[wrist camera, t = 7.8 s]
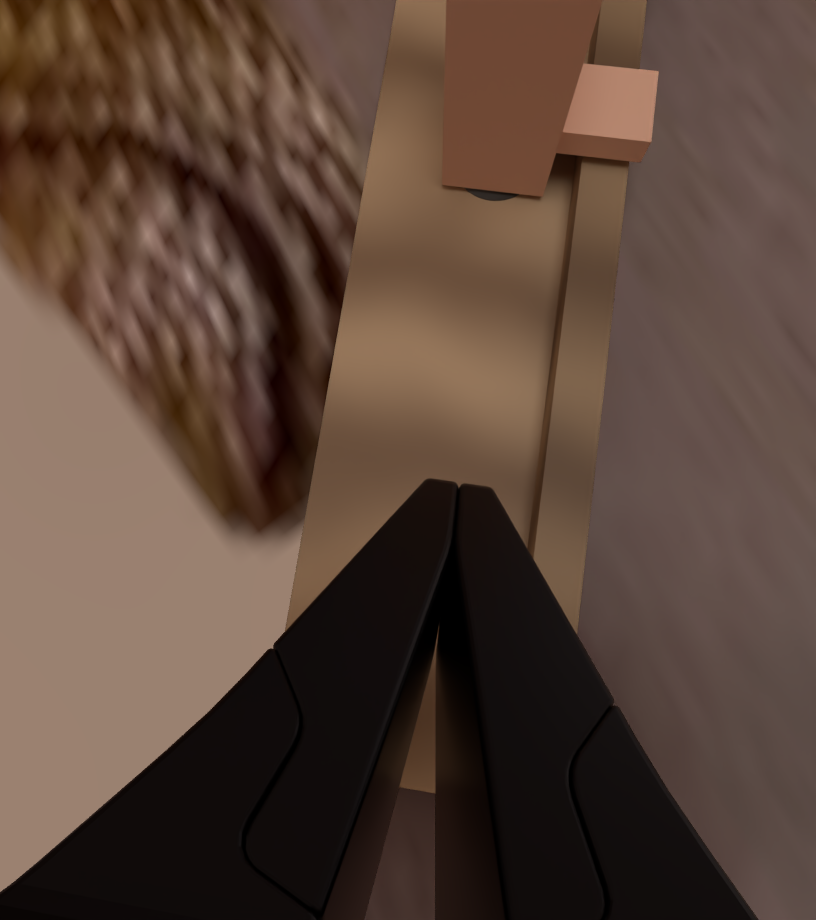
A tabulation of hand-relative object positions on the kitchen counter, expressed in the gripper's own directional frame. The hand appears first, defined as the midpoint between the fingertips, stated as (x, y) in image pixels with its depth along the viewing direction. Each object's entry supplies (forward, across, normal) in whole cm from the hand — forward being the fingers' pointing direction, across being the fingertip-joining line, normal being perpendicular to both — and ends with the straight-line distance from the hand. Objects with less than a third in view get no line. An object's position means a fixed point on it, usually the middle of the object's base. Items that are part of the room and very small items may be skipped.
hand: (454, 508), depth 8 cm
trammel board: (+15, 0, +4) cm, 16 cm away
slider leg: (+18, -1, -1) cm, 18 cm away
